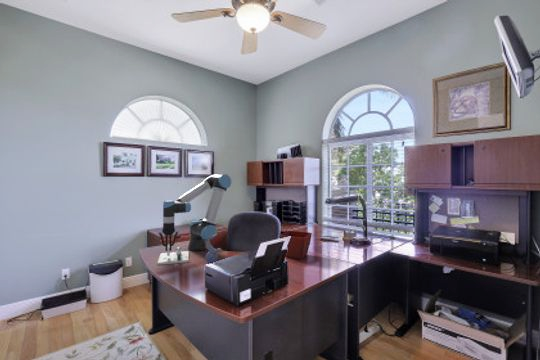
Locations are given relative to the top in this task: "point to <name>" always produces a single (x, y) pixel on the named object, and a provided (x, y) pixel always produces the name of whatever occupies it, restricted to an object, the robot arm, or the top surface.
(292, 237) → the plant pot
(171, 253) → the dial board
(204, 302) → the top surface
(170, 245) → the robot arm
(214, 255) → the seal
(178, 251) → the ball-tipped lever
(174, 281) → the top surface
